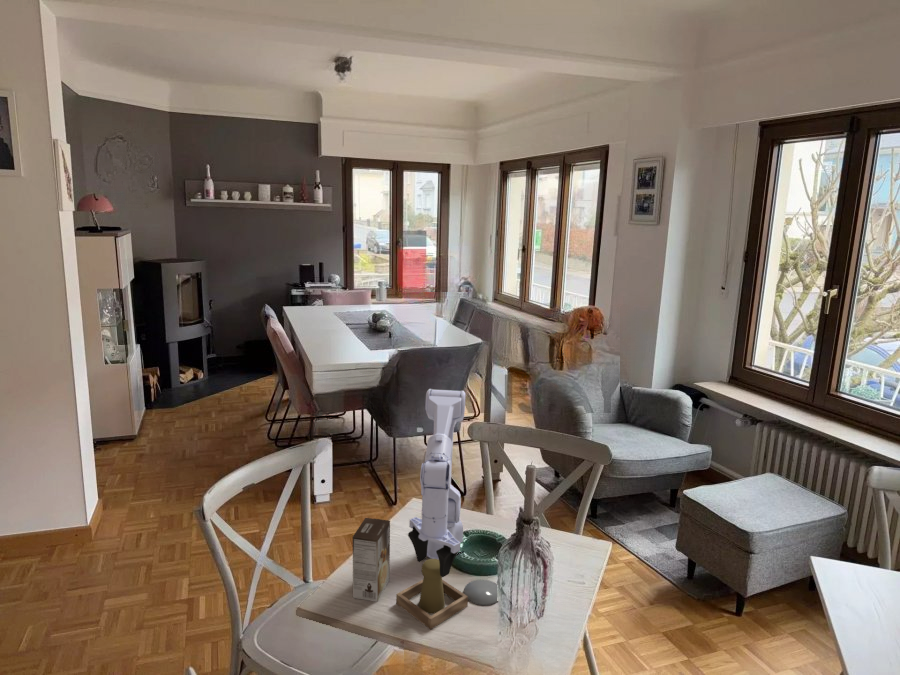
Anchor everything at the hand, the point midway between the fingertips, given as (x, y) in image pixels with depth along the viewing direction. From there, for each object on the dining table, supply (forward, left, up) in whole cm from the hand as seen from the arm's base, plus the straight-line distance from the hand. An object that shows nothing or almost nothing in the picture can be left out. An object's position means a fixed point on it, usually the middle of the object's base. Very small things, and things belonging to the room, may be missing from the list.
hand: (433, 567), depth 139 cm
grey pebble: (-12, +5, -10) cm, 16 cm away
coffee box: (+7, -14, -10) cm, 18 cm away
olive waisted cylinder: (0, 0, -10) cm, 10 cm away
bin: (0, 0, -10) cm, 10 cm away
